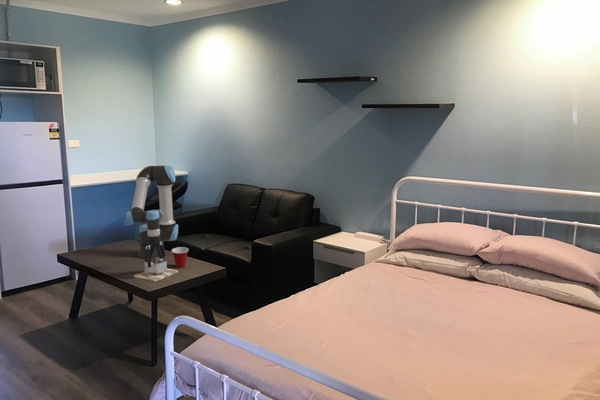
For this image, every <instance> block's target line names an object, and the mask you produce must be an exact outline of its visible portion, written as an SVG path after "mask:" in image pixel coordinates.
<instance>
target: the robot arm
mask: <svg viewBox="0 0 600 400" xmlns="http://www.w3.org/2000/svg"><path fill="white" fill-rule="evenodd" d="M174 169H175V168H174V167H173V166H171V165H165V164H164V165H148V166H146V167H144V168H143V169H141V171H139V173H137V176H136V178H135V184H136V186H135V190H134V195H133V200H132V205H131V208H130V210H129V211H127V212H126V213H125V220H126V223H127V224H141V223H142V224H141V225H139V229H138V230H139V231H138V232H139V244H140V245H139V250H138V254H137V255H138V258H141V259H144V262H147V263H148V267H149V272H151V273H153V265H152V262H151V261H152V259H153V258H154V257H157V258H158V259H159V260H164V259H165V257H166V256H167V255H166V251H165V250H166V249H165V246H164V245H165V243H164V242H171V241H176V240H177V238H178V234H179V224H177V223H176V220H174V213H173V212H174V211H173V209H174V208H173V194H172V193H173V192H172V186H173V185H174V183H175V182H176V172H175V170H174ZM151 183H155V186H156V187H157V188H158V199H159V209H152V210H151V209H150V210H145V206H146V205H145V203H146V199H147V194H148V189H149V186H150V185H151ZM149 260H150V261H149Z"/></svg>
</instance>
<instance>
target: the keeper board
mask: <svg viewBox="0 0 600 400" xmlns="http://www.w3.org/2000/svg"><path fill="white" fill-rule="evenodd" d="M152 259H153V263H158V259H159V257H158V256H157V257H154V258H152ZM177 273H179V270H176V269H172V268H168V267H167V270H166V271H163V272H161V273H158V274H156V273H151V272H147V271H145V270H144V271H142V272H140V273H136V274H134V275H133V277H134V278H137V279H142V280H146V281H150V282H159V281H160V280H162V279H165V278H167V276H168V277H169V276H172V275H175V274H177Z"/></svg>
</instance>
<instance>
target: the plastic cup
mask: <svg viewBox="0 0 600 400" xmlns="http://www.w3.org/2000/svg"><path fill="white" fill-rule="evenodd" d="M171 252H172V256H173V259H174V262H175V266H176V268H178V269H181V268H185V267H186V266H187V265H186V264H187V257H188V252H189V248H188V247H185V246H182V247H181V246H180V247H179V246H177V247H175V248H172V249H171Z"/></svg>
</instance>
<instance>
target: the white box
mask: <svg viewBox="0 0 600 400" xmlns="http://www.w3.org/2000/svg"><path fill="white" fill-rule="evenodd" d="M149 261H150V260H149ZM151 262H152V265H153V273H156V274H158V273H161V272H163V271H166V270H167V268H168V265H167V264H168V263H167V260H164V259H163V260H159V258H158V263H153V258H152V261H151ZM143 264H144V271H147V272H149V267H148V263H147V262H145V261H144V263H143Z"/></svg>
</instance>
